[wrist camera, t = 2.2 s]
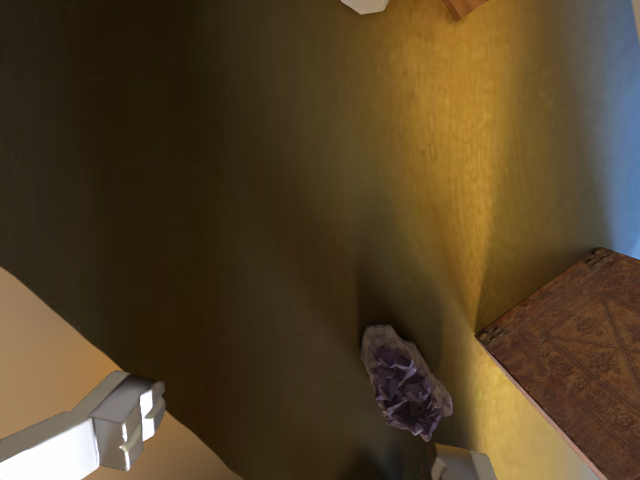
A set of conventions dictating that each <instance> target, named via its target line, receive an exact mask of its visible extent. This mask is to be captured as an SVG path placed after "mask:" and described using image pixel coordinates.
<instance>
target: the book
mask: <svg viewBox="0 0 640 480" xmlns="http://www.w3.org/2000/svg"><path fill="white" fill-rule="evenodd" d="M475 338H476V339H477V340H478V342H479V343H480V344H481V346H482V347H483V348H484V350H485V351H486V352H487V353H488V355H489V356H490V357H491V359H492V360H493V361H494V362H495V364H496V365H497V366H498V368H499V369H500V370H501V371H502V372H503V373H504V374H505V376H506V377H507V378H508V379H509V380H510V381H511V382H512V383H513V384H514V385H515V386H516V388H517V389H518V390H519V391H520V392H521V393H522V394H523V395H524V396H525V397H526V399H527V400H528V401H529V402H530V403H531V404H532V405H533V406H534V407H535V408H536V410H537V411H538V412H539V413H540V414H541V415H542V416H543V417H544V418H545V419H546V420H547V422H548V423H549V424H550V425H551V426H552V427H553V428H554V429H555V430H556V431H557V433H558V434H559V435H560V436H561V437H562V438H563V439H564V440H565V441H566V442H567V444H568V445H569V446H570V447H571V448H572V449H573V450H574V451H575V452H576V453H577V454H578V456H579V457H580V458H581V459H582V460H583V461H584V462H585V463H586V464H587V465H588V467H589V468H590V469H591V470H592V471H593V472H594V473H595V474H596V475H597V476H598V478H599V479H600V480H640V260H638V259H635V258H632V257H629V256H626V255H624V254H621V253H618V252H615V251H612V250H609V249H606V248H603V247H597V248H595V249H594V250H593V251H591V252H590V253H588V254H587V255H586V256H584V257H583V258H581V259H580V260H579V261H577V262H576V263H574V264H573V265H572V266H570V267H569V268H568V269H566V270H565V271H563V272H562V273H561V274H559V275H558V276H556V277H555V278H554V279H552V280H551V281H550V282H548V283H547V284H545V285H544V286H543V287H541V288H540V289H538V290H537V291H536V292H534V293H533V294H532V295H530V296H529V297H527V298H526V299H525V300H523V301H522V302H520V303H519V304H518V305H516V306H515V307H513V308H512V309H511V310H509V311H508V312H507V313H505V314H504V315H502V316H501V317H500V318H498V319H497V320H495V321H494V322H493V323H491V324H490V325H489V326H487V327H486V328H484V329H483V330H482V331H480V332H479V333H477V334H476V335H475Z"/></svg>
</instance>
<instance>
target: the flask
mask: <svg viewBox="0 0 640 480" xmlns="http://www.w3.org/2000/svg"><path fill="white" fill-rule="evenodd" d="M388 1H389V0H341V2H343V3H344V4H346V5H347V6H349V7H350V8H352V9H353V10H355V11H356V12H358V13H359V14H361V15H362V14H368V13H374V12H380V11H384V10H385V8H386V6H387V4H388Z"/></svg>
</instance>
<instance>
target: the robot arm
mask: <svg viewBox="0 0 640 480" xmlns="http://www.w3.org/2000/svg"><path fill="white" fill-rule="evenodd" d="M164 391H165V387H164V382H162V381H159V380H155V379H151V378H147V377H143V376H139V375H135V374H131V373H127V372H123V371H118V370H116V371H114V372H112V373H110V374H109V375H108V376H107V377H106V378H105V379H104V380H103V381H102V382H100V383H99V385H97V386H96V387H95V388H94V389H93V390H92V391H91V392H90V393H89V394H88V395H87V396H86V397H85V398H84V399H83V400H82V401H81V402H79V404H77V405H76V406H75V407H74V408H73V409H72V410H71V411H70V412H66V411H64V412H62V413H59V414H57V415H55V416H53V417H50V418H48V419H46V420H44V421H42V422H39V423H37V424H34V425H32V426H30V427H28V428H25V429H23V430H21V431H19V432H17V433H14V434H12V435H10V436H8V437H5V438H3V439H1V440H0V480H81V479H82V478H84V477H86V476H87V475H88V474H90V473H91V472H93V471H94V470H95V469H97V468H98V465H99V466H104V467H108V468H113V469H117V470H122V471H127V472H128V470H129V469H130V468H131V466H132V465H133V463H134V462H135V461H136V459H137V458H138V456H139V455H140V453H141V452H142V451H143V441H144V440H146V439H148V438H149V437H151V436H153V435H154V433H155V432H156V430H157V429H158V427H159V425H160V423H161V421H162V418H163V416H164V412H165V401H164V400H163V398H162V397H161V395H162V394H163V392H164ZM427 455H428V459H427V460H425V461H423V463H422V466H421V469H420V477H419V480H497V478H496V475H495V472H494V470H493V467H492V464H491V462H490V459H489V457H488V456H487V455H486V454H483V453H479V452H474V451H470V450H466V449H462V448H457V447H452V446H448V445H443V444H438V443H434V442H431V443H430V444H429V446H428V449H427Z"/></svg>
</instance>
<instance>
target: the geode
mask: <svg viewBox="0 0 640 480" xmlns="http://www.w3.org/2000/svg"><path fill="white" fill-rule="evenodd" d="M360 358H361V359H362V361H363V363H364V365H365V369H366V371H367V372H368V374H369V376H370V381H371V384H372V386H373V388H374V391H375V393H376V397H375V399H376V401H377V402H378V405H379V407H380V408H381V409H382V414H383V415H384V417H385V419H386V423H387V424H388V425H393V426H395V427H397V428H401V429H404V428H405V429H407V430H409V431H411V432H412V433H413V434H414V435H417V434H418V433H420V435H421V437H422V438H423V439H424V440H425V441H427V442H428V441H429V440H430V438H431V436H432V433H431V432H432V431H433V430H434V429H435V428H436V427H437V425H438V422H439V420H440V419H441V418H442V417H446V416H450V415H451V414H452V401H451V399H452V398H451V396H450V395H449V393H448V391H446V390H445V388H444V384H443V383H442V382H441V381H440V380H439V379H438V377H436V376H435V375H434V374H433V373H431V372H430V370H429V368H428V366H427V364H426V362H425V360H424V359H423V357H422V356H421V354H420V352H419V350H418V349H417V347H416V345H415V343H414V342H413V341H411V340H406V341H404V340H403V339H401V338H400V337H399V336H398V335H397V333H396V332H395V330H394V329H393V328H392V326H390V325H389V324H380V323H373V324H372V325H368V326H366V328H365V330H364V332H363V336H362V342H361V349H360Z"/></svg>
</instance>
